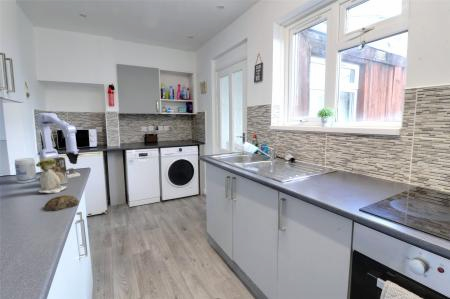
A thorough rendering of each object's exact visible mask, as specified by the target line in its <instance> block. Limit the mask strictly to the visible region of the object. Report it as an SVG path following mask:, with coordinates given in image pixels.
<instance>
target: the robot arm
mask: <svg viewBox="0 0 450 299" xmlns="http://www.w3.org/2000/svg"><path fill="white" fill-rule="evenodd" d="M36 121H37V125H39V126H40V132H41V138H42V144H43V145H42V146H43V149H41V150H40V151H39V161H41V160H42V159H48V158H58V157H59V153H58V150H57V149H55V148H54V147H53V142H52V134H51V128H50V126H52V125H53V124H56V127H57V128H58V129H60V130H62V134H63V137H64V138H65V139H64V140H65V147H66V153H65V156H66V158H68V161H69V163H70V164H72V165H76V164H78V157H79V155H80V153H79V151H80V149H78V146H77V140H76V138H77V137H76V134H77V132H78V130H77V126H75V125H74V124H72V125H71V124H69V122H66V120H65V119H62V120H61V119H60V118H59V117H58V115H57V114H56V113H55V112H38V113H37V115H36Z"/></svg>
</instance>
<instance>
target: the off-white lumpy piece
mask: <svg viewBox="0 0 450 299" xmlns="http://www.w3.org/2000/svg"><path fill="white" fill-rule="evenodd" d="M58 164H59V162H56V160H55V159H51V158H48V159H42V160H39V161H38V162H36V163H35V167H38V168H40V169H41V170H42V171H41V173H40V177H39V183H40V188H39V189H37V190H36V191H37V192H38V193H42V194H44V193H45V194H53V193H55V194H57V193H58V194H59V193H60V192H61V191H63V190H65V189H67V186H63V185H59V184H58V183H60V179H59V177H58V176H57V175H56V174H55V173H54V172H53V171H52V170H51V168H52V167H53V166H56V165H58Z"/></svg>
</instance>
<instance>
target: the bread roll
mask: <svg viewBox="0 0 450 299" xmlns="http://www.w3.org/2000/svg"><path fill="white" fill-rule="evenodd" d="M78 205H79V199H78V198H76V197H75V196H73V195H70V194H68V195H67V194H62V195H59V196H55V197H53V198H50V199H49V200H48V201H47V202H46V203H45V204H44V211H45V212H53V211H54V212H55V211H56V212H57V211H58V212H59V211H64V210H66V209H70V208H74V207H76V206H78Z"/></svg>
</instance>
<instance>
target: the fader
mask: <svg viewBox="0 0 450 299" xmlns="http://www.w3.org/2000/svg"><path fill="white" fill-rule="evenodd" d="M68 171H69V174H72V173H74V172H75V170H74V168H73V167H70V168H68Z"/></svg>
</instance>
